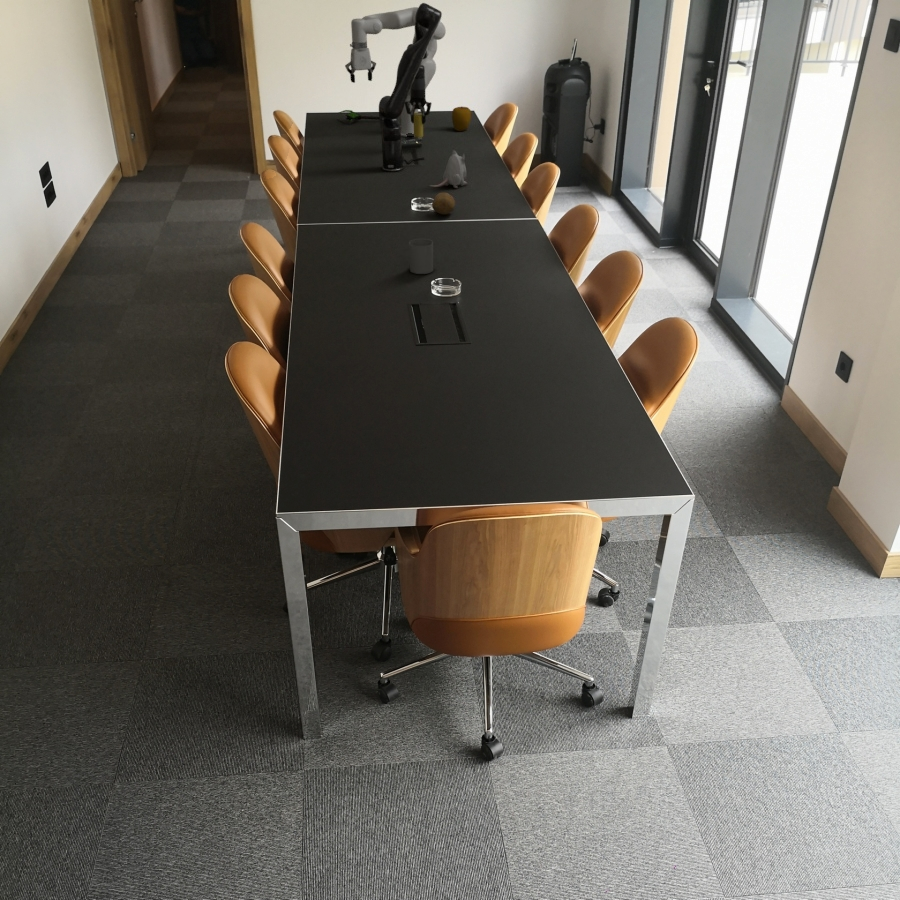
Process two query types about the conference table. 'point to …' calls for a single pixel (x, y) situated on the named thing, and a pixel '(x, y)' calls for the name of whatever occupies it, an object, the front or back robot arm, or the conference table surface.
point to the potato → (443, 203)
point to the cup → (421, 256)
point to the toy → (454, 171)
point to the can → (418, 125)
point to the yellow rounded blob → (461, 118)
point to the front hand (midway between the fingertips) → (418, 123)
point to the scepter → (355, 117)
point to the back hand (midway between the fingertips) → (361, 81)
